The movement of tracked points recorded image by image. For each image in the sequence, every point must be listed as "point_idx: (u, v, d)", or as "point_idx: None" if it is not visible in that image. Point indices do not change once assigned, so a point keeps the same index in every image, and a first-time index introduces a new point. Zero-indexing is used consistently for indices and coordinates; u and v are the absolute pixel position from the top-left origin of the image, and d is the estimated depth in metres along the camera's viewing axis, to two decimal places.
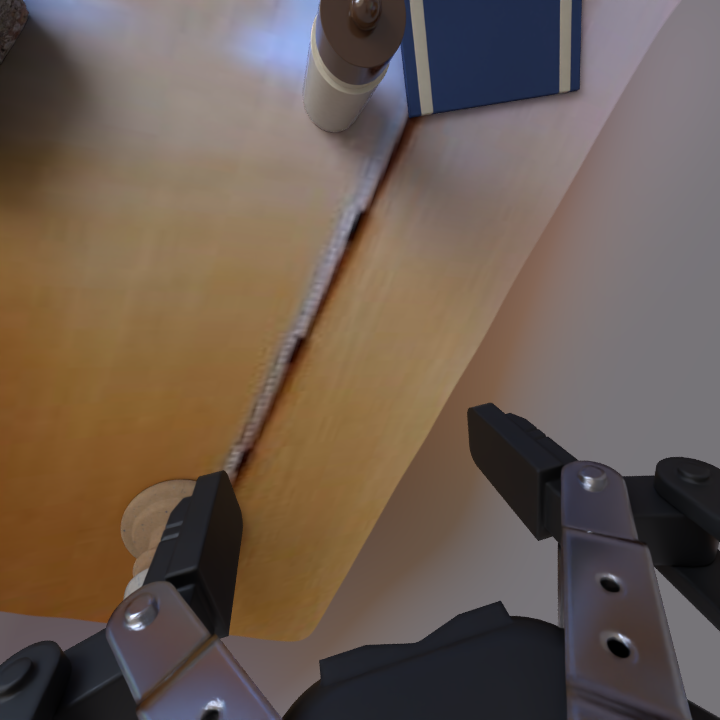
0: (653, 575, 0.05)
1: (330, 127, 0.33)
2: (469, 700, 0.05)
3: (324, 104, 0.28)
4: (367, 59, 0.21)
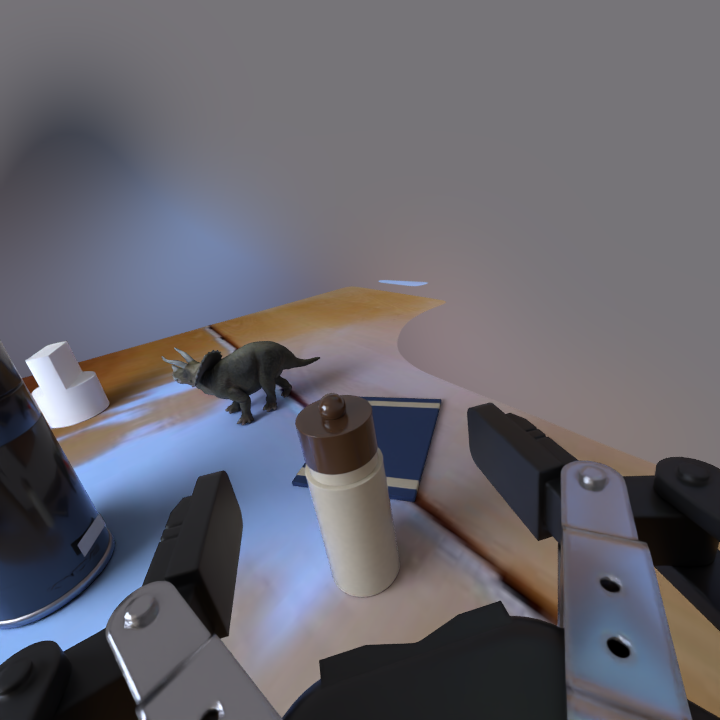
0: (653, 575, 0.05)
1: (391, 567, 0.27)
2: (469, 700, 0.05)
3: (371, 530, 0.24)
4: (363, 417, 0.23)
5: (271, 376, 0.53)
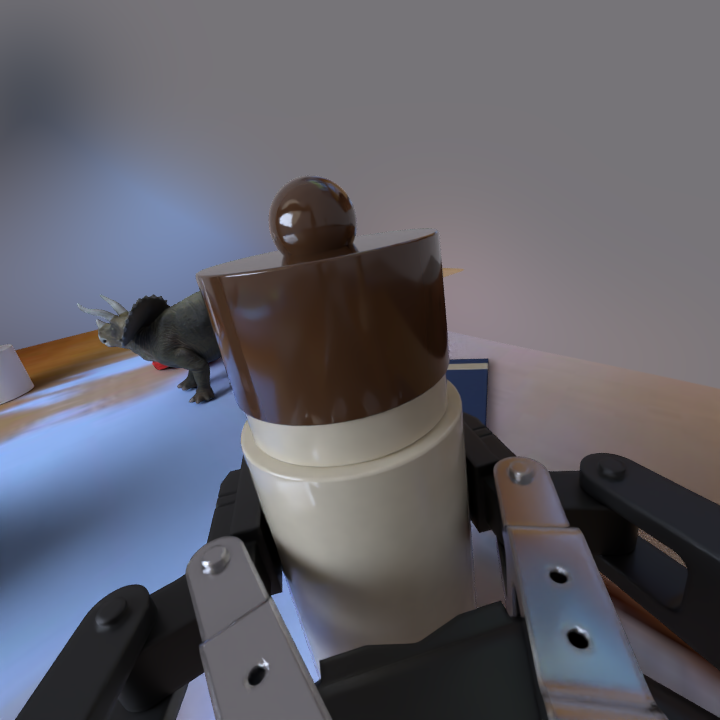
0: (591, 558, 0.06)
1: None
2: (469, 700, 0.05)
3: (432, 600, 0.08)
4: (415, 234, 0.07)
5: None
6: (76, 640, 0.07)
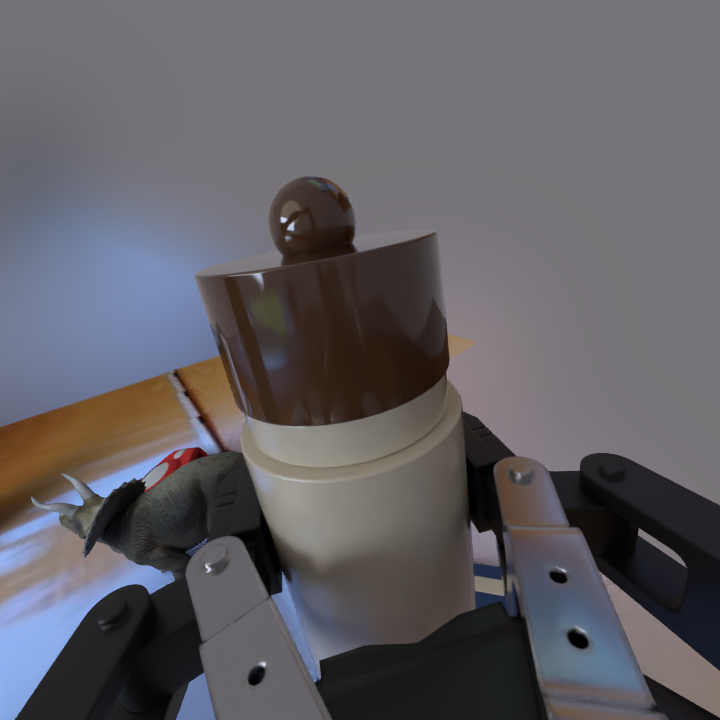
0: (591, 558, 0.06)
1: None
2: (469, 700, 0.05)
3: (432, 601, 0.08)
4: (414, 234, 0.07)
5: None
6: (75, 640, 0.07)
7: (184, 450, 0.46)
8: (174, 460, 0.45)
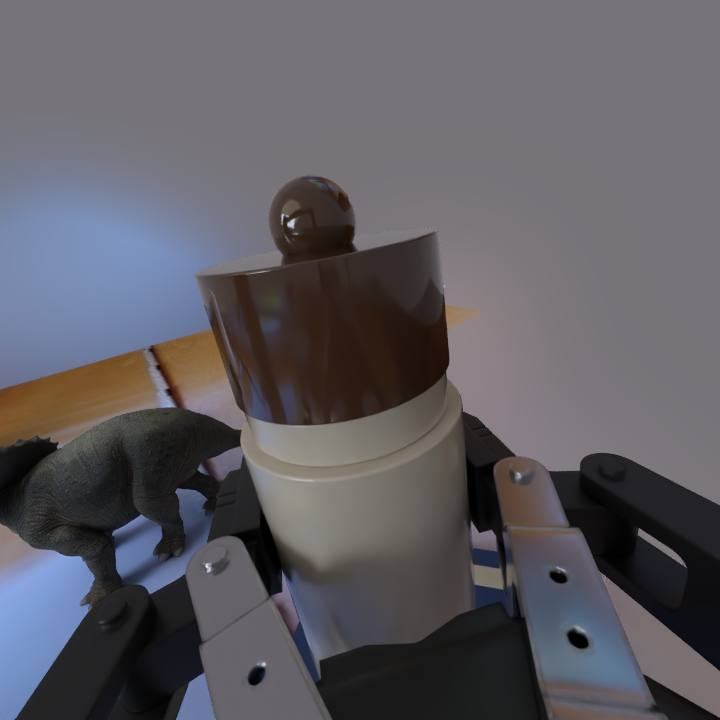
0: (591, 558, 0.06)
1: None
2: (469, 700, 0.05)
3: (432, 600, 0.08)
4: (414, 234, 0.07)
5: (163, 489, 0.24)
6: (76, 641, 0.07)
7: None
8: None
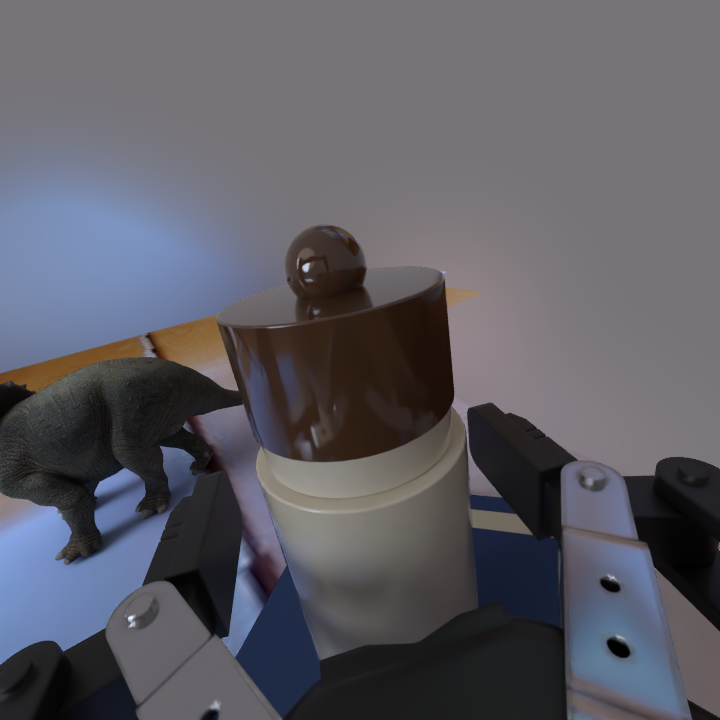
0: (653, 575, 0.05)
1: None
2: (469, 700, 0.05)
3: (438, 620, 0.09)
4: (422, 281, 0.07)
5: (144, 439, 0.23)
6: None
7: None
8: None
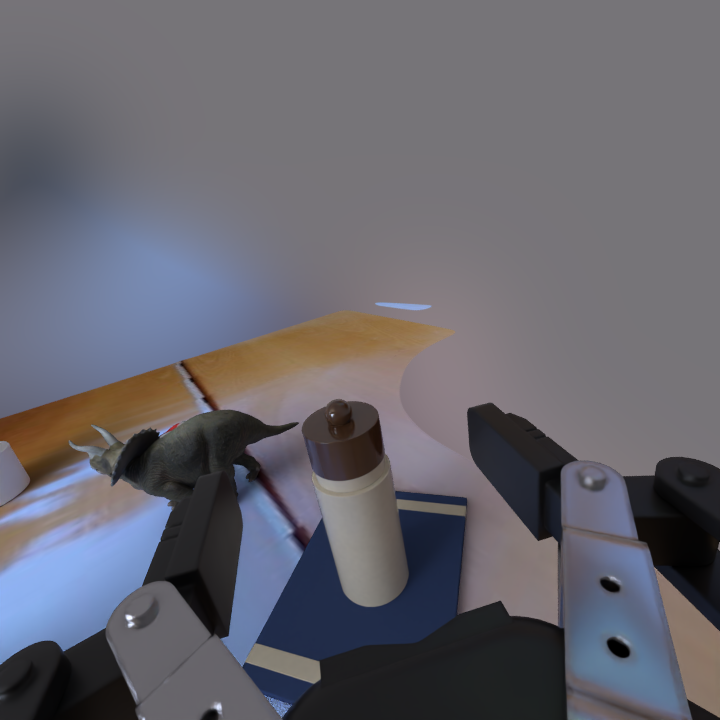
0: (653, 575, 0.05)
1: (400, 576, 0.26)
2: (469, 700, 0.05)
3: (379, 537, 0.24)
4: (370, 422, 0.23)
5: (226, 461, 0.38)
6: None
7: None
8: None
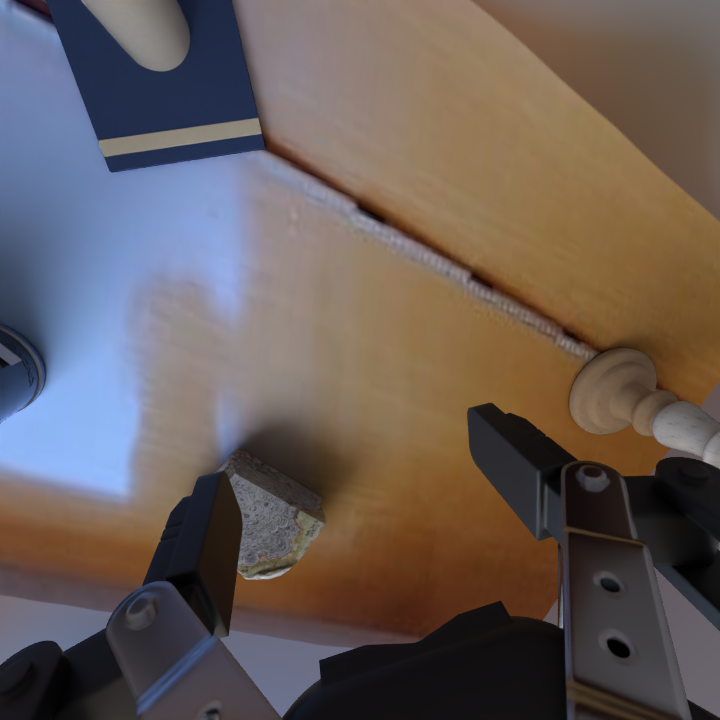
0: (653, 575, 0.05)
1: (185, 31, 0.28)
2: (469, 700, 0.05)
3: (163, 14, 0.24)
4: None
5: None
6: None
7: None
8: None
